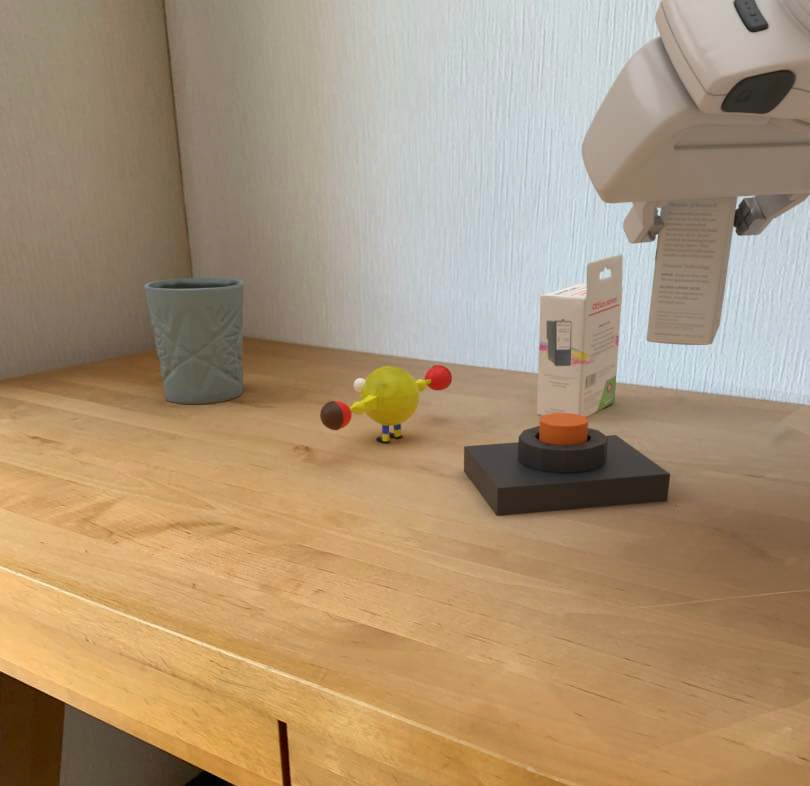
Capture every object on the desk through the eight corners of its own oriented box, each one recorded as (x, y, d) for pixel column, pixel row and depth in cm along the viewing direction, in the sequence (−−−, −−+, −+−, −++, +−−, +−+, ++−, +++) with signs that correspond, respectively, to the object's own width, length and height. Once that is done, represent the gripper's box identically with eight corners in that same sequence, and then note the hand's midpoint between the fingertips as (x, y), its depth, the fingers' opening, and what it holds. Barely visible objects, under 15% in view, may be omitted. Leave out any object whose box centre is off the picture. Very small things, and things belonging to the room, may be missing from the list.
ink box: (571, 396, 93) (580, 250, 87) (616, 403, 90) (627, 252, 84) (533, 415, 87) (539, 259, 81) (579, 422, 84) (589, 262, 78)
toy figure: (420, 413, 88) (419, 345, 85) (467, 421, 85) (468, 351, 82) (301, 461, 75) (295, 383, 72) (352, 473, 72) (348, 392, 69)
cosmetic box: (656, 327, 62) (673, 138, 57) (723, 330, 60) (746, 135, 55) (644, 344, 56) (661, 137, 52) (717, 347, 55) (742, 134, 50)
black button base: (614, 459, 74) (617, 413, 72) (667, 501, 65) (673, 449, 63) (463, 471, 72) (464, 424, 70) (496, 516, 63) (498, 463, 61)
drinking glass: (141, 396, 97) (125, 284, 92) (214, 379, 104) (203, 274, 99) (197, 410, 91) (183, 291, 86) (271, 391, 98) (262, 280, 93)
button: (577, 433, 69) (578, 411, 68) (594, 446, 65) (595, 424, 65) (532, 436, 68) (533, 414, 67) (547, 450, 65) (548, 427, 64)
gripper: (958, -2, 48) (799, 186, 60) (638, -14, 42) (534, 199, 54) (1014, 83, 46) (838, 260, 58) (687, 84, 40) (567, 282, 52)
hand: (689, 231), depth 56 cm, fingers closed on cosmetic box, 7 cm apart
